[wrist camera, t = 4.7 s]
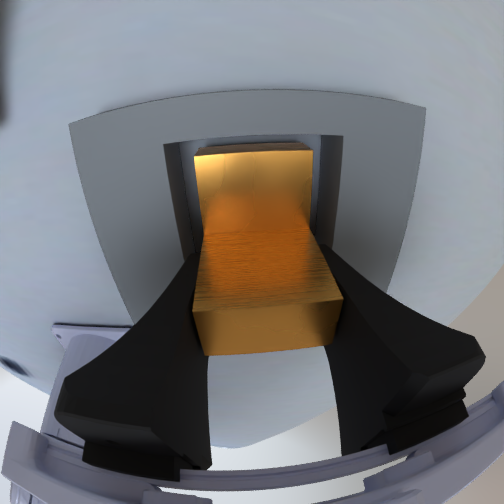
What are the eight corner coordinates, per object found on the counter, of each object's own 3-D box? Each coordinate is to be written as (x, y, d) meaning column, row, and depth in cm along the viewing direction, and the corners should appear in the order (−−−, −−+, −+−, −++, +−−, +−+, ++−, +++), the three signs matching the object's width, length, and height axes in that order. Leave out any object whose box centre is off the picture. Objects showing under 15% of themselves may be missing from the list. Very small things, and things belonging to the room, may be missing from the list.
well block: (365, 275, 15) (381, 304, 13) (144, 291, 15) (134, 324, 13) (393, 100, 10) (426, 107, 7) (98, 114, 9) (68, 123, 7)
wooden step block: (298, 250, 13) (331, 344, 8) (212, 256, 13) (204, 355, 8) (302, 142, 10) (362, 192, 5) (199, 147, 10) (168, 203, 5)
